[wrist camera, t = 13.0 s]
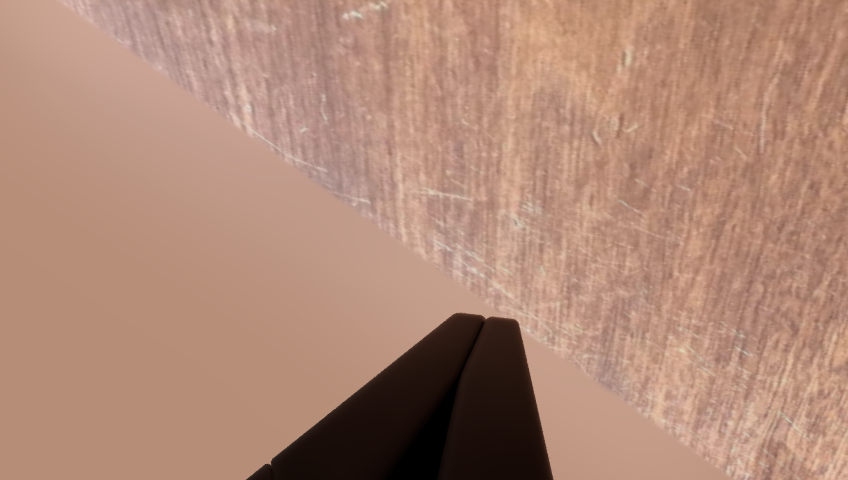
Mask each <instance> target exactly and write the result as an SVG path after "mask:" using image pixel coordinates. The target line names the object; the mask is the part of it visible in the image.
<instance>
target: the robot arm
mask: <svg viewBox="0 0 848 480" xmlns="http://www.w3.org/2000/svg"><path fill="white" fill-rule="evenodd" d="M246 480H553V476H552V472H551V467H550V462H549V458H548V453H547V449H546V444H545V440H544V435H543V431H542V426H541V422H540V418H539V413H538V408H537V404H536V399H535V395H534V391H533V386H532V381H531V377H530V372H529V368H528V363H527V359H526V354H525V349H524V345H523V340H522V337H521V331H520V327H519V323H518V322H517V321H516V320H515V319H508V318H500V317H489V318H487V319H485V318H484V317H483V316H482V315H475V314H474V315H473V314H466V313H456V314H453V315H452V316H451V317H449V318H448V319H447V320H446V321H444V322H443V323H442V324H441V325H439V326H438V327H437V328H436V329H434V330H433V331H432V332H431V333H430V334H428V335H427V336H426V337H424V338H423V339H422V340H421V341H419V342H418V343H417V344H416V345H414V346H413V347H412V348H411V349H409V350H408V351H407V352H406V353H404V354H403V355H402V356H401V357H399V358H398V359H397V360H396V361H394V362H393V363H392V364H391V365H389V366H388V367H387V368H386V369H384V370H383V371H382V372H381V373H379V374H378V375H377V376H376V377H374V378H373V379H372V380H371V381H369V382H368V383H367V384H366V385H364V386H363V387H362V388H361V389H359V390H358V391H357V392H356V393H354V394H353V395H352V396H351V397H349V398H348V399H347V400H346V401H344V402H343V403H342V404H341V405H340V406H338V407H337V408H336V409H334V410H333V411H332V412H331V413H329V414H328V415H327V416H326V417H324V418H323V419H322V420H321V421H319V422H318V423H317V424H316V425H314V426H313V427H312V428H311V429H309V430H308V431H307V432H306V433H304V434H303V435H302V436H301V437H299V438H298V439H297V440H296V441H294V442H293V443H292V444H291V445H289V446H288V447H287V448H286V449H284V450H283V451H282V452H281V453H279V454H278V455H277V456H275V457H274V458H273V459H272V461H271V465H270V464H265V465H264V466H263V467H262V468H260V469H259V470H258V471H256V472H255V473H254V474H253V475H251V476H250V477H249V478H248V479H246Z"/></svg>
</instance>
